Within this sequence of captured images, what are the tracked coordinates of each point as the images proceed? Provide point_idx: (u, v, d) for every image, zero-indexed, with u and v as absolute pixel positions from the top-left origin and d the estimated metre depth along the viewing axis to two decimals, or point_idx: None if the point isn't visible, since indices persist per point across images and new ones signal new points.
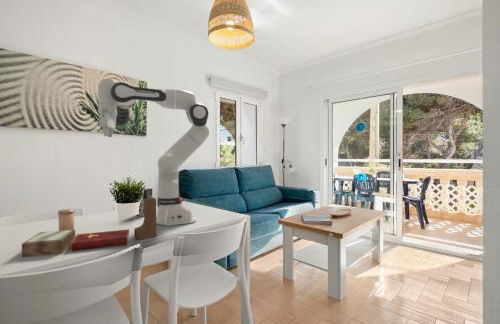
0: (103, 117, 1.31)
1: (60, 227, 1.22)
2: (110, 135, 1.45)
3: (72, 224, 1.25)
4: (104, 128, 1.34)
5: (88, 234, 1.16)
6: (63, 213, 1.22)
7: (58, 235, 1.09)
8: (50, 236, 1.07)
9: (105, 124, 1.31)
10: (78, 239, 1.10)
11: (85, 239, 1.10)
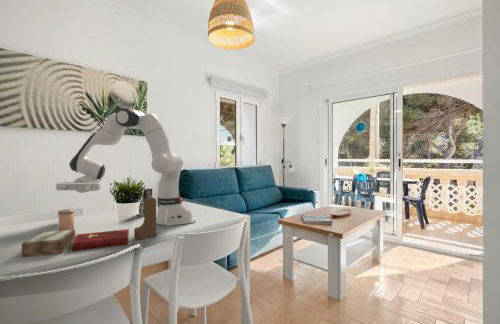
0: None
1: (60, 227, 1.22)
2: None
3: (72, 224, 1.25)
4: None
5: (88, 234, 1.16)
6: (63, 213, 1.22)
7: (58, 235, 1.09)
8: (50, 236, 1.07)
9: (56, 185, 1.38)
10: (78, 239, 1.10)
11: (85, 239, 1.10)
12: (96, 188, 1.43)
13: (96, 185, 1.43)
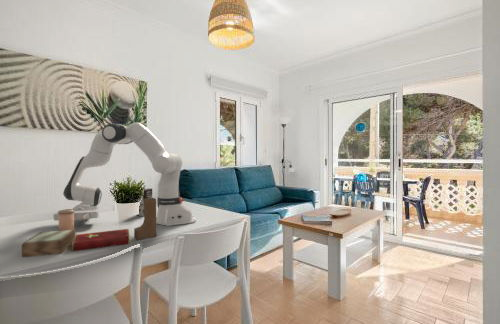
0: None
1: (60, 227, 1.22)
2: None
3: (72, 224, 1.25)
4: None
5: (87, 234, 1.16)
6: (63, 213, 1.22)
7: (58, 235, 1.09)
8: (50, 236, 1.07)
9: None
10: (78, 239, 1.10)
11: (86, 238, 1.10)
12: (95, 216, 1.39)
13: (94, 213, 1.39)
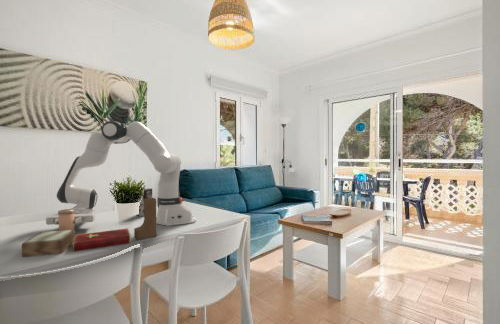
0: None
1: (60, 227, 1.22)
2: None
3: (72, 224, 1.25)
4: None
5: (87, 234, 1.16)
6: (63, 213, 1.22)
7: (58, 235, 1.09)
8: (50, 236, 1.07)
9: (46, 218, 1.26)
10: (78, 239, 1.10)
11: (86, 238, 1.10)
12: (90, 219, 1.31)
13: (89, 217, 1.31)
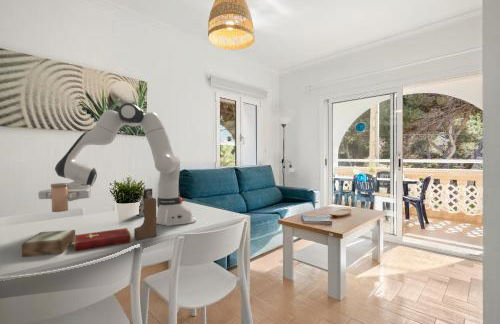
0: None
1: (53, 201, 1.15)
2: None
3: (66, 198, 1.18)
4: None
5: (87, 234, 1.16)
6: (56, 186, 1.15)
7: (58, 235, 1.09)
8: (50, 236, 1.07)
9: (38, 193, 1.20)
10: (79, 239, 1.10)
11: (87, 238, 1.10)
12: (85, 195, 1.24)
13: (85, 192, 1.24)
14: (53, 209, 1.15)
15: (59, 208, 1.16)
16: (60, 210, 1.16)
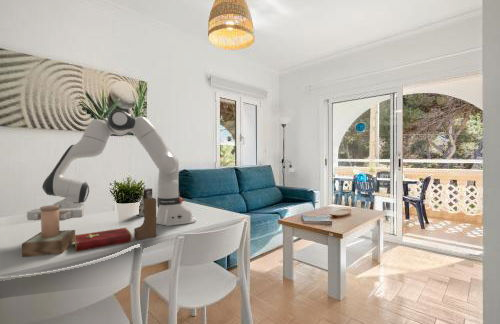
0: None
1: (43, 226, 1.05)
2: None
3: (57, 222, 1.08)
4: None
5: (86, 234, 1.16)
6: (46, 209, 1.05)
7: (58, 235, 1.09)
8: None
9: (27, 213, 1.10)
10: (79, 239, 1.09)
11: (87, 238, 1.11)
12: (78, 215, 1.14)
13: (78, 211, 1.14)
14: (43, 235, 1.06)
15: (50, 233, 1.06)
16: (50, 236, 1.06)
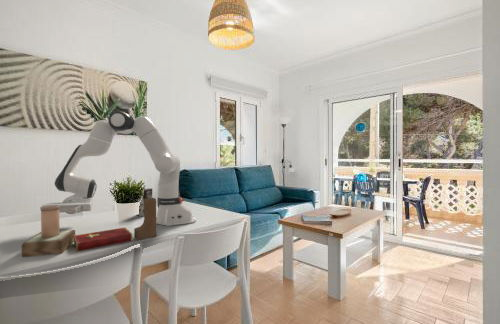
0: None
1: (43, 226, 1.05)
2: None
3: (57, 222, 1.08)
4: None
5: (86, 234, 1.16)
6: (46, 210, 1.05)
7: (58, 235, 1.09)
8: None
9: None
10: (80, 239, 1.09)
11: (88, 238, 1.11)
12: (87, 208, 1.27)
13: (87, 206, 1.27)
14: (43, 235, 1.06)
15: (50, 233, 1.06)
16: (51, 236, 1.06)
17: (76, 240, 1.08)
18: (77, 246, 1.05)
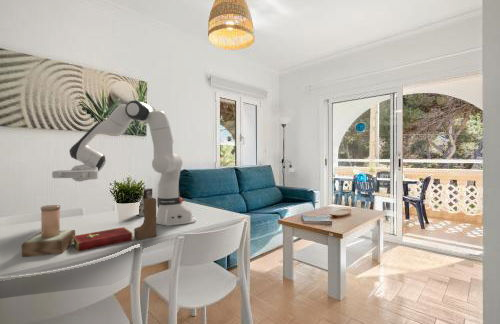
0: None
1: (43, 226, 1.05)
2: None
3: (57, 222, 1.08)
4: None
5: (85, 235, 1.15)
6: (47, 209, 1.05)
7: (58, 235, 1.09)
8: None
9: None
10: (80, 239, 1.09)
11: (88, 238, 1.11)
12: (94, 175, 1.38)
13: (93, 172, 1.38)
14: (43, 234, 1.06)
15: (50, 233, 1.06)
16: (51, 235, 1.06)
17: (76, 240, 1.08)
18: (78, 246, 1.05)
